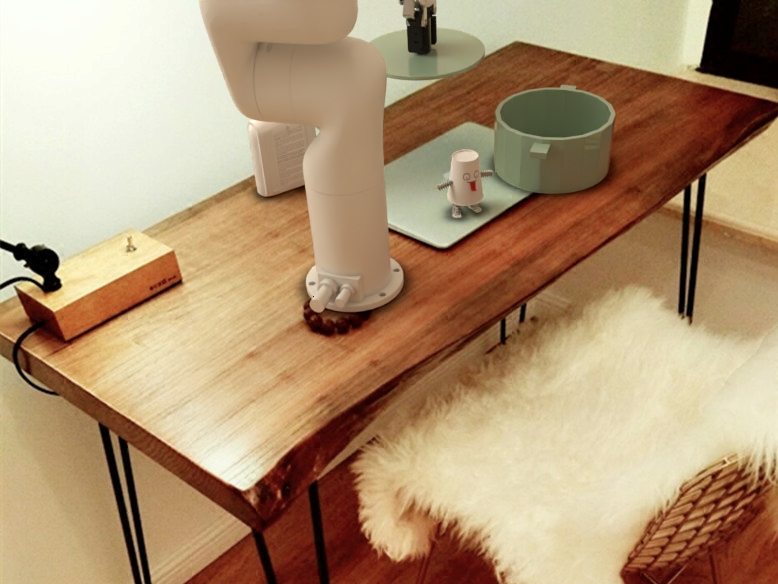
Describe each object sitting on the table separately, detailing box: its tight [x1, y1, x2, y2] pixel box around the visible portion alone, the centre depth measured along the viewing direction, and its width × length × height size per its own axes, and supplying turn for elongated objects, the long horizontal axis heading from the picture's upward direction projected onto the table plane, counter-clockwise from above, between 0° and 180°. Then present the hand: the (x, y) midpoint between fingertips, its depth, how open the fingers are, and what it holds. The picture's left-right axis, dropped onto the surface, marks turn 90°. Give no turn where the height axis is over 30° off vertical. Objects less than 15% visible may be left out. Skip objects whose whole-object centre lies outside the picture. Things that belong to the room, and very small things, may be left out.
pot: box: [493, 84, 617, 195], centre depth 136 cm, size 17×23×8 cm
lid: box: [368, 15, 486, 82], centre depth 132 cm, size 18×18×6 cm
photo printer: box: [246, 118, 317, 198], centre depth 134 cm, size 10×4×12 cm, turn 123°
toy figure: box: [426, 148, 504, 219], centre depth 127 cm, size 12×6×8 cm, turn 114°
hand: (422, 46), depth 133 cm, fingers closed on lid, 2 cm apart
